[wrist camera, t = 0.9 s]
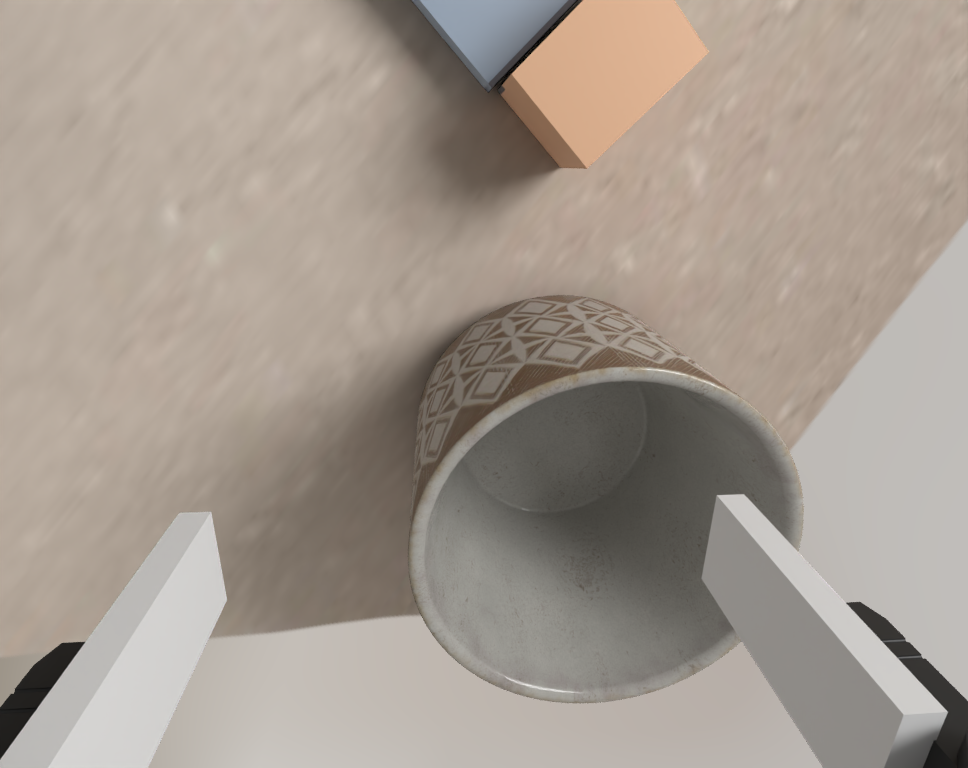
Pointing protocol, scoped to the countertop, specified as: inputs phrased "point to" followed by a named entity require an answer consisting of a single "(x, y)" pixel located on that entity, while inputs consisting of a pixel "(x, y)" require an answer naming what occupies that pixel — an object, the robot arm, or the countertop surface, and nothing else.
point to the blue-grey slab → (492, 30)
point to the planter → (581, 501)
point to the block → (601, 74)
